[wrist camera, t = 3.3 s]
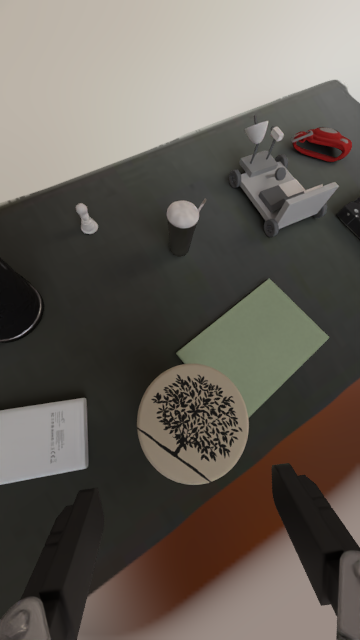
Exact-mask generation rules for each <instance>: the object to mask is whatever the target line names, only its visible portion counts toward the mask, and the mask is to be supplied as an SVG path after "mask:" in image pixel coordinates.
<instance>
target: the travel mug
mask: <svg viewBox="0 0 360 640" xmlns="http://www.w3.org/2000/svg"><path fill="white" fill-rule="evenodd" d="M248 428H249V422H248V413H247V409H246V405H245V402H244V400H243V397H242V395H241V394H240V392H239V390H238V389H237V387H236V386H235V385H234V383H233V382H232V381H231V380H230V379H229V378H228V377H227V376H225V375H224V374H223V373H221V372H220V371H218V370H216V369H214V368H212V367H209V366H206V365H202V364H183V365H178V366H175V367H172V368H170V369H168V370H166V371H165V372H163V373H162V374H160V375H159V376H158V377H157V378H156V379H155V380H154V381H153V382H152V383H151V384H150V386H149V387H148V388H147V390H146V392H145V393H144V395H143V397H142V400H141V403H140V406H139V410H138V417H137V430H138V436H139V441H140V444H141V447H142V449H143V451H144V453H145V455H146V457H147V459H148V460H149V462H150V463H151V464H152V465H153V466H154V467H155V468H156V469H157V470H158V471H159V472H160V473H161V474H163V475H164V476H166V477H167V478H169V479H171V480H173V481H176V482H179V483H182V484H189V485H199V484H205V483H209V482H212V481H214V480H216V479H218V478H220V477H222V476H223V475H225V474H226V473H227V472H228V471H229V470H230V469H231V468H232V467H233V466H234V465H235V464H236V463H237V461H238V460H239V458H240V456H241V455H242V453H243V450H244V448H245V445H246V442H247V437H248Z"/></svg>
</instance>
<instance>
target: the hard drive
mask: <svg viewBox="0 0 360 640" xmlns="http://www.w3.org/2000/svg"><path fill="white" fill-rule="evenodd" d="M87 467H88V427H87V401H86V398H79V399H73V400H66V401H59V402H53V403H46V404H39V405H33V406H26V407H20V408H13V409H7V410H0V485H2V484H7V483H12V482H17V481H23V480H28V479H33V478H39V477H44V476H49V475H55V474H60V473H65V472H70V471H75V470H81V469H86V468H87Z"/></svg>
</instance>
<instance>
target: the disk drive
mask: <svg viewBox="0 0 360 640" xmlns="http://www.w3.org/2000/svg"><path fill="white" fill-rule="evenodd" d="M337 216H339V219H340V220H341V221H342V222H343V223H344V224H345V225H346V226H347V227H348V228H349V229H350V230H351V231H352V232H353V233H354V234H355V235H356V236H357V237H358V238H359V239H360V197H359V198H358V199H357V200H355V201H354V202H353V201H352V202H350V203H348V204H347V205H345V206H344V207H343V208H342V209H341V210H340V211H339V213H338V214H337Z"/></svg>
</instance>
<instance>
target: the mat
mask: <svg viewBox="0 0 360 640" xmlns="http://www.w3.org/2000/svg"><path fill="white" fill-rule="evenodd" d="M328 339H329V337H328V336H327V335H326V334H325V333H324V332H323V331H322V330H321V329H320V328H319V327H318V326H317V325H316V324H315V323H314V322H313V321H312V320H311V319H310V318H309V317H308V316H307V315H306V314H305V313H304V312H303V311H302V310H301V309H300V308H299V307H298V306H297V305H296V304H295V303H294V302H293V301H292V300H291V299H290V298H289V297H288V296H287V295H286V294H285V293H284V292H283V291H282V290H281V289H279V288H278V287H277V286H276V285H275V284H274V283H273V282H272V281H271V280H270V279H268V280H267V281H265V282H264V283H263V284H262V285H260V286H259V287H258V288H257V289H255V290H254V291H253V292H252V293H250V294H249V295H248V296H247V297H245V298H244V299H243V300H242V301H240V302H239V303H238V304H237V305H235V306H234V307H233V308H232V309H230V310H229V311H228V312H227V313H225V314H224V315H223V316H222V317H220V318H219V319H218V320H217V321H215V322H214V323H213V324H212V325H210V326H209V327H208V328H207V329H205V330H204V331H203V332H202V333H200V334H199V335H198V336H197V337H195V338H194V339H193V340H192V341H190V342H189V343H188V344H187V345H185V346H184V347H183V348H182V349H180V350H179V351H178V352H177V353H176V354H177V356H178V357H179V358H180V359H181V360H182V362H183V363H184V364H202V365H206V366H209V367H212V368H214V369H216V370H218V371H220V372H221V373H223V374H224V375H225V376H227V377H228V378H229V379H230V380H231V381H232V382H233V383H234V385H235V386H236V387H237V389H238V390H239V392H240V394H241V395H242V397H243V400H244V402H245V405H246V409H247V413H248V418H249V417H250V416H251V415H252V414H253V413H254V412H255V411H256V410H257V409H258V408H259V407H260V406H261V405H262V404H263V403H264V402H265V401H266V400H267V399H268V398H269V397H270V396H271V395H272V394H273V393H274V392H275V391H276V390H277V389H278V388H279V387H280V386H281V385H282V384H283V383H284V382H285V381H286V380H287V379H288V378H289V377H290V376H291V375H292V374H293V373H294V372H295V371H296V370H297V369H298V368H299V367H300V366H301V365H302V364H303V363H304V362H305V361H306V360H307V359H308V358H309V357H310V356H311V355H312V354H313V353H314V352H315V351H316V350H317V349H318V348H319V347H320V346H321V345H322V344H324V343H325V342H326V341H327V340H328Z"/></svg>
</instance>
